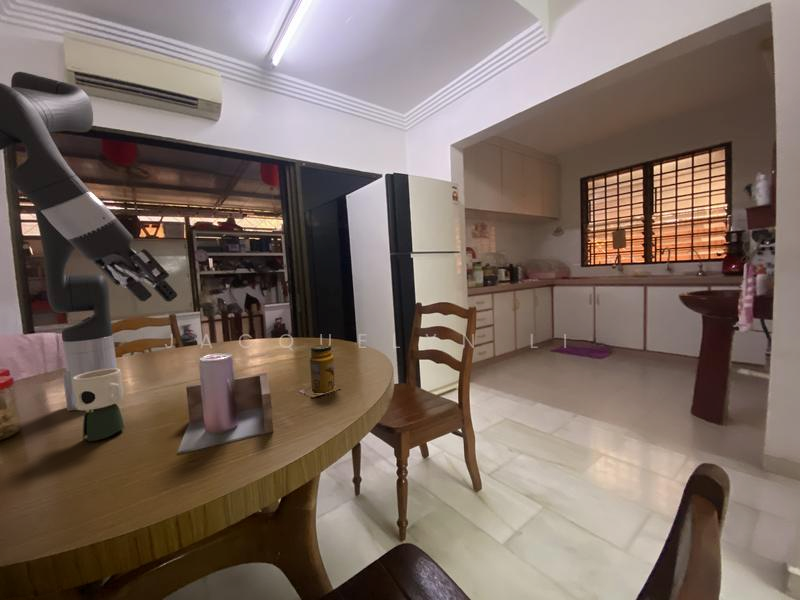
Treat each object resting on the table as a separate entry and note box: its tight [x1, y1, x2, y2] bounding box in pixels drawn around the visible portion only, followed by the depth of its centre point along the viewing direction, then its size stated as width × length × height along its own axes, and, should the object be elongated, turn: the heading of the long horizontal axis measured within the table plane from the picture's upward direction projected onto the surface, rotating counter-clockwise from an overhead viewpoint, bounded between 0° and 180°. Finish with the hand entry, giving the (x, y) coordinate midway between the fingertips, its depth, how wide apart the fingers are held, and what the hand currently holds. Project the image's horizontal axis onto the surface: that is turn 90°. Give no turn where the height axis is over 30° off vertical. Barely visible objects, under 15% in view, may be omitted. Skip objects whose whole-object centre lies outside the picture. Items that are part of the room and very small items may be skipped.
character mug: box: [72, 368, 125, 442], centre depth 65 cm, size 11×7×13 cm, turn 73°
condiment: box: [299, 344, 336, 395], centre depth 85 cm, size 7×8×12 cm
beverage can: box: [198, 352, 238, 435], centre depth 65 cm, size 6×6×15 cm
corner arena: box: [177, 372, 274, 455], centre depth 67 cm, size 16×15×8 cm
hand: (159, 298), depth 63 cm, fingers open, 8 cm apart
